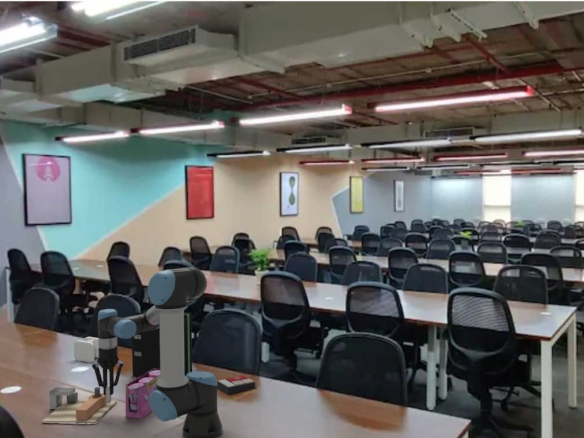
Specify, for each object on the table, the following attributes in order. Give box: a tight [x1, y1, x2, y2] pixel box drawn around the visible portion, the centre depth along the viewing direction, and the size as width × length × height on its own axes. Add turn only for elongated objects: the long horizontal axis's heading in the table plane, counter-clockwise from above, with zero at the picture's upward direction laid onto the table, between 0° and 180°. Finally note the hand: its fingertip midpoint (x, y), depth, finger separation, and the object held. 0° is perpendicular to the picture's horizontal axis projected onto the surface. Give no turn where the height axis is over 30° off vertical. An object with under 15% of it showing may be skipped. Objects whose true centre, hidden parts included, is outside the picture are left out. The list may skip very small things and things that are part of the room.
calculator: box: [217, 375, 256, 396], centre depth 248 cm, size 11×4×15 cm
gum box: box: [125, 368, 160, 420], centre depth 225 cm, size 24×8×14 cm, turn 164°
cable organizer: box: [73, 336, 99, 364], centre depth 295 cm, size 15×11×12 cm
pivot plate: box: [41, 386, 118, 425], centre depth 220 cm, size 22×22×9 cm
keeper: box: [48, 387, 79, 410], centre depth 227 cm, size 7×9×8 cm
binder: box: [130, 308, 193, 378], centre depth 266 cm, size 27×15×32 cm, turn 67°
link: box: [76, 392, 106, 420], centre depth 219 cm, size 18×7×4 cm, turn 176°
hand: (108, 402), depth 218 cm, fingers closed
